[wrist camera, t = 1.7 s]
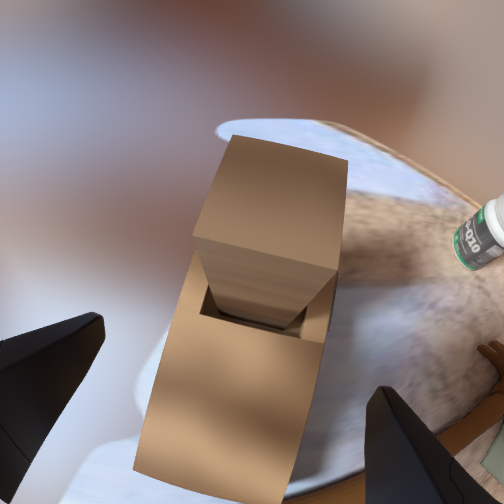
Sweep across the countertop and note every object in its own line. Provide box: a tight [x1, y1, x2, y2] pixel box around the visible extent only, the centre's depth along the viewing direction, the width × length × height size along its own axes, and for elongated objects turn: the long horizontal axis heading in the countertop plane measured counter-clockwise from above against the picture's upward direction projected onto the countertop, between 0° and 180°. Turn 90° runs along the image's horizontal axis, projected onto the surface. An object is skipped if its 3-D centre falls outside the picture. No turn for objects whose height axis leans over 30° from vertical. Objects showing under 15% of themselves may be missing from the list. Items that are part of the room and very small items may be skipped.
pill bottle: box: [452, 193, 504, 271], centre depth 20 cm, size 5×5×8 cm
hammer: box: [281, 341, 504, 504], centre depth 15 cm, size 12×3×30 cm
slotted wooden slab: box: [133, 249, 338, 504], centre depth 18 cm, size 18×9×4 cm, turn 166°
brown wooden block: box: [192, 135, 348, 330], centre depth 15 cm, size 4×4×12 cm
